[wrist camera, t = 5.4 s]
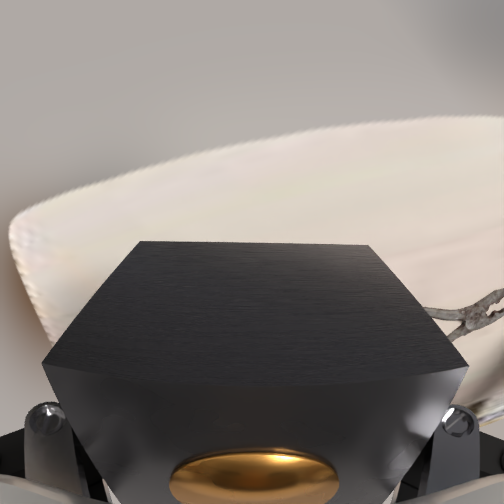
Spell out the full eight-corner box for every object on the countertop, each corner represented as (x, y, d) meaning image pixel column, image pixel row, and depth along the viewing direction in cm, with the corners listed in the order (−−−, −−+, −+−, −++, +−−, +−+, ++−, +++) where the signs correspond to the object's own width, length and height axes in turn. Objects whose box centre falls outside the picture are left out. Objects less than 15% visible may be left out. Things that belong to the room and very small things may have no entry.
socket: (368, 245, 10) (471, 369, 4) (334, 403, 12) (364, 526, 7) (140, 241, 10) (38, 366, 4) (165, 401, 12) (136, 525, 7)
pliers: (346, 336, 28) (511, 238, 25) (343, 330, 29) (506, 235, 25) (373, 394, 31) (516, 307, 28) (371, 389, 32) (512, 304, 29)
